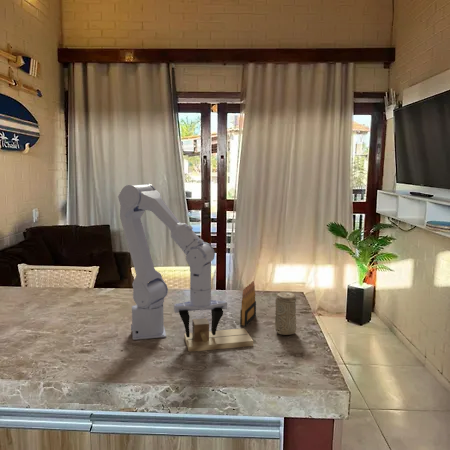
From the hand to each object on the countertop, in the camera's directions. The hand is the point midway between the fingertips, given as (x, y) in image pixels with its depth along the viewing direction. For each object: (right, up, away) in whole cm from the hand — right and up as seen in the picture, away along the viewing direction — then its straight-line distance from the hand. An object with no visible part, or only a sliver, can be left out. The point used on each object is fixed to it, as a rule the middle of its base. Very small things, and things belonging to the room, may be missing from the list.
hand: (200, 334), depth 118 cm
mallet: (+1, -1, -2) cm, 3 cm away
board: (+5, -2, +2) cm, 6 cm away
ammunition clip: (+14, 0, +18) cm, 23 cm away
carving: (+25, -2, +8) cm, 26 cm away
